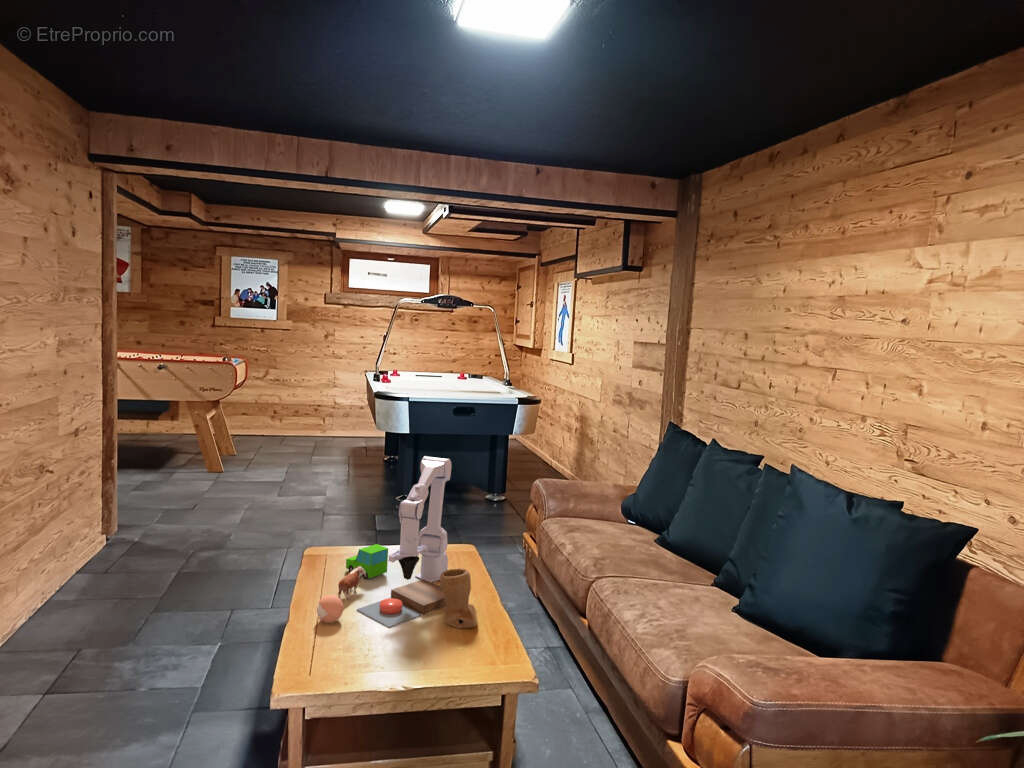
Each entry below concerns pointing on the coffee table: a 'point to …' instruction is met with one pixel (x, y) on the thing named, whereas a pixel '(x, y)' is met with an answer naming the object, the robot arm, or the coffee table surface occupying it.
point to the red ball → (390, 606)
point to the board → (420, 596)
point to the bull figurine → (350, 582)
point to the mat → (386, 619)
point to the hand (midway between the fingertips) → (407, 578)
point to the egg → (330, 608)
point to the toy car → (370, 561)
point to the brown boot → (458, 598)
